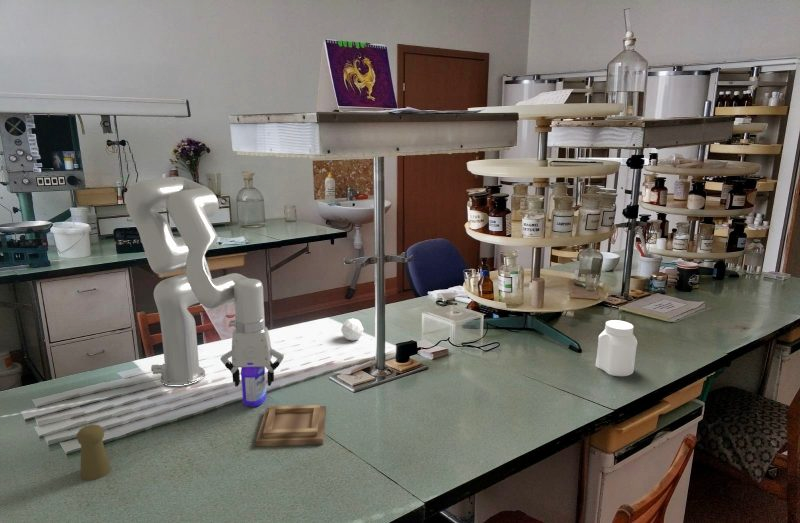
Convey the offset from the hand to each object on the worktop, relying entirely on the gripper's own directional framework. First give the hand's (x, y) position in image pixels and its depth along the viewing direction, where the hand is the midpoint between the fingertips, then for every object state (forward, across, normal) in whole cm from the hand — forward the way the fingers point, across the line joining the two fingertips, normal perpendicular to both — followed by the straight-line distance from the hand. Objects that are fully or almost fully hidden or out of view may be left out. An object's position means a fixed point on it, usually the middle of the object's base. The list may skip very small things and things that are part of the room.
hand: (253, 383), depth 156 cm
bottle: (+6, 0, 0) cm, 6 cm away
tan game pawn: (+6, -30, -30) cm, 43 cm away
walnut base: (+6, +12, -14) cm, 19 cm away
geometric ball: (+6, +27, +44) cm, 52 cm away
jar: (+6, +111, +16) cm, 112 cm away
